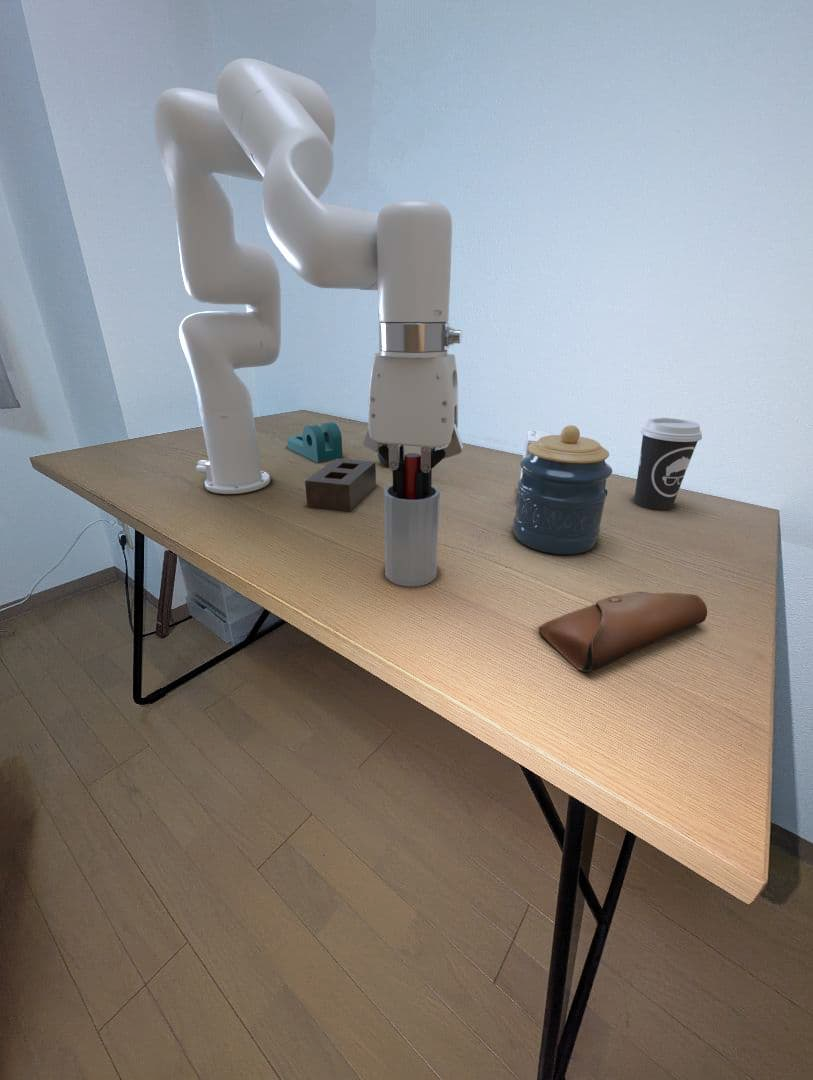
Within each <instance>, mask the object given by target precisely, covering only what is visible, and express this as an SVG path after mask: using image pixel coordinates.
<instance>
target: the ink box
mask: <svg viewBox="0 0 813 1080" xmlns="http://www.w3.org/2000/svg"><path fill="white" fill-rule="evenodd" d="M550 435H554V434H553V432H547V431H541V430H527V431H526V437H525V443H524V450H523V457H522V459H523V458H524V457H526V456H528V455H529V454H530V452H529V450H528V446H529V445H530V444H531V443H533V442H536V441H538V440H539V439H540V438H542V437H544V436H550ZM522 475H523V469H522V468H521V469H520V476H519V480H520V479H521V478H522Z"/></svg>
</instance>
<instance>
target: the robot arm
mask: <svg viewBox="0 0 813 1080" xmlns="http://www.w3.org/2000/svg"><path fill="white" fill-rule="evenodd" d="M153 119H154V120H153V125H154V135H155V142H156V148H157V152H158V156H159V160H160V163H161V165H162V168H163V171H164V174H165V177H166V180H167V183H168V186H169V189H170V193H171V196H172V199H173V204H174V211H175V222H176V230H177V231H176V232H177V238H178V249H179V255H180V256H179V257H180V266H181V273H182V278H183V283H184V286H185V290H186V291H187V293H188V295H189V296H190V297H191V298H192V299H193V300H195V301H197V302H200V303H203V304H209V305H240V306H242V305H245V308H246V311H201V312H200V311H199V312H195V313H192V314H189V315H187V316H186V317H184V318H183V320H182V321H181V322H180V325H179V329H178V330H179V331H178V335H179V341H180V345H181V349H182V351H183V354H184V356H185V359H186V362H187V365H188V368H189V371H190V374H191V377H192V381H193V386H194V391H195V396H196V399H197V405H198V410H199V416H200V421H201V426H202V432H203V437H204V442H205V447H206V451H207V452H206V454H207V457H208V460H205V459H204V460H203V459H200V460H198V462H197V465H196V466H195V471H196V473H199V474H200V473H202V474H203V473H204V474H206V479H205V480H204V487H205V489H206V490H207V491H209V492H211V493H214V494H220V495H236V494H237V495H238V494H239V495H240V494H246V493H250V492H255V491H258V490H261V489H263V488H265V487H267V486H268V485H270V482H271V475H270V474H269V473H268V472H266V471H264V470H262V468H261V460H260V453H259V446H258V445H259V444H258V438H257V431H256V425H255V423H256V422H255V417H254V410H253V403H252V397H251V393H250V390H249V389H248V387H247V385H246V383H244V382H243V380H242V379H241V378H240V376H238V375H237V373H236V372H235V370H239V369H245V368H246V369H248V368H258V367H266V366H270V365H272V364H274V363H275V362H276V361H277V360H278V359H279V356H280V353H281V346H282V345H281V344H282V306H281V305H282V300H281V299H282V297H281V296H282V293H281V291H282V290H281V276H280V272H279V268H278V265H277V262H276V260H275V258H274V256H273V255H272V253H271V252H270V251H269V250H268V248H266V247H264V246H263V245H260V244H257V243H253V242H245V241H244V242H243V241H237V240H236V234H235V233H236V231H235V214H234V209H233V206H232V202H231V200H230V198H229V196H228V195H227V193H226V191H225V189H224V187H223V186H222V184H221V183H220V180H219V179H218V178H217V176H216V175H215V174H221V175H224V176H228V177H233V178H238V179H245V180H249V181H255V182H259V183H262V184H261V203H262V204H261V205H262V211H263V218H264V222H265V225H266V230H267V232H268V235H269V237H270V239H271V240H272V242H273V244H274V246H275V248H276V249H277V250H278V251H279V253H280V254H281V255H282V257H283V259H284V260H285V261H286V262H287V264H288V265H289V266H290V268H291V269H292V270H293V271H294V272H295V274H296V275H297V276H298V277H300V278H301V279H302V280H303V281H305V282H306V283H308V284H309V285H312V286H314V287H316V288H321V289H336V290H337V289H341V290H349V289H350V290H360V291H377V300H378V301H377V305H378V306H377V309H378V346H379V347H378V349H379V351H378V352H377V353H374V354H373V358H372V363H371V364H372V365H371V370H370V378H369V387H368V400H367V401H368V403H367V431H366V434H365V436H364V439H363V444H362V445H363V446H364V447H365V448H367V449H369V450H370V451H373V452H375V453H377V454H378V453H379V454H380V455H381V456H382V457H383V458H384V459H385V460H386V461H387V463H388V464H389V465H388V467H389V468H390V470H392V484H393V492H396V497H397V498H400V499H404V498H405V460H404V455H405V446H409V447H420V455H421V465H420V466H419V471H418V472H417V474H416V500H418V499H425V498H426V496H427V495H430V493H431V485H432V478H433V477H432V474H433V468H434V467H436V466H437V465H438V464H439V463H440V462H441V461H443V460H444V459H448V458H451V457H454V456H458V455H460V454H461V453H462V451H463V450H464V445H463V442H462V439H461V436H460V433H459V430H458V429H459V428H458V427H459V383H458V382H459V381H458V371H457V369H458V368H457V361H456V355H455V354H454V353H448V350H449V349H450V347H451V346H454V344H461V342H462V337H463V336H462V330H461V329H455V328H452V326H451V323H450V322H449V317H450V296H451V295H450V294H451V293H450V292H451V271H452V270H451V269H452V267H451V266H452V244H453V243H452V241H453V219H452V214H451V212H450V210H449V209H448V207H446V206H445V205H444V204H441V203H440V202H438V201H437V202H436V201H433V200H432V201H431V200H424V199H423V200H422V199H406V200H405V199H403V200H397V201H392V202H390V203H388V204H385V205H384V206H383V207H381V209H380V210H379V211H378V212H377V211H371V210H367V209H361V208H356V207H350V206H345V205H338V204H332V203H325V202H323V201H321V200H320V199H319V198H320V197H321V196H322V195H323V194H324V193H325V192H326V190H327V188H329V185H330V183H331V181H332V178H333V174H334V167H335V158H334V150H333V145H334V143H335V137H336V117H335V111H334V107H333V105H332V102H331V100H330V98H329V96H328V94H327V92H325V90H324V88H322V86H321V85H319V84H318V83H317V81H314V80H313V79H311V78H308V77H306V76H303V75H301V74H298V73H295V72H292V71H290V70H287V69H284V68H282V67H279V66H276V65H273V64H271V63H268V62H266V61H263V60H260V59H256V58H251V57H250V58H249V57H239V58H236V59H234V60H232V61H230V62H228V63H227V64H226V65H225V66H224V67H223V69H222V70H221V72H220V74H219V76H218V79H217V83H216V94H215V93H211V92H208V91H203V90H199V89H195V88H189V87H171V88H168V89H166V90H164V91H163V92H162V93H160V95H159V96H158V98H157V100H156V104H155V109H154V117H153ZM214 173H215V174H214Z"/></svg>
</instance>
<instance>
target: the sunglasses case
mask: <svg viewBox="0 0 813 1080" xmlns="http://www.w3.org/2000/svg"><path fill="white" fill-rule="evenodd" d="M707 617H708V608H707V605H706V603H705V601H704V600H703V599H702V597H700V596H699V595H697V594H696V595H695V594H693V593H683V592H682V593H680V592H679V593H678V592H646V591H633V592H628V593H625V594H617V595H612V596H608V597H605V598H602V599H599V600H597V601H596V603H595V604H592V605H589V606H585V607H583V608H579V609H577V610H573V611H571V612H568V613H566V614H563V615H560V616H558V617H556V618H552V619H551V620H548V621H546V622H544V623H542V624H541V625H539V626H538V633H539V634H540V635H541V636H542V637H543V638H544V639H545V641H547V643H548V644H549V645H550V646H551V647H552V648H553V649H554V650H555V651H556V652H557V653H558V654H559V655H560V656H562V657H563V658H564V659H565V660H566V661H567V662H568V663H569V664H570V665H571V666H573V668H575V669H576V670H577V671H578V672H582V673H588V672H591V671H596V670H598V669H600V668H603V667H604V666H608V665H610V664H612V663H613V662H615V661H617V660H619V659H621V658H623V657H625V656H627V655H629V654H632V653H634V652H635V651H638V650H639V649H641V648H645V647H646V646H649V645H652V644H654V643H656V642H659V641H661V640H663V639H665V638H667V637H670V636H673V635H675V634H677V633H680V632H682V631H684V630H687V629H691V628H692V627H695V626H697V625H700V624H702V623H704V622H705V621H706V619H707Z"/></svg>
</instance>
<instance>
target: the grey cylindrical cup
mask: <svg viewBox="0 0 813 1080" xmlns="http://www.w3.org/2000/svg"><path fill="white" fill-rule="evenodd" d="M440 498H441V491H440V488H438V487H437V486H436V485H433V484H431V493H430V495H427V496H426V498H425V499H418V500H407V499H400V498H397V497H396V492H393V483H391V484H389V485H388V486H386V487H385V488H384V489H383V517H384V518H383V519H384V521H383V522H384V525H383V526H384V527H383V528H384V574H385V577H386V579H387V580H388V581H390V582H391V583H393V584H395V585H398V586H401V587H410V588H411V587H421V586H424V585H425V586H426V585H428V584H430V583H431V582H433V581H434V580H435V579H436V578H437V571H438V549H439V529H440V527H439V526H440Z"/></svg>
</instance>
